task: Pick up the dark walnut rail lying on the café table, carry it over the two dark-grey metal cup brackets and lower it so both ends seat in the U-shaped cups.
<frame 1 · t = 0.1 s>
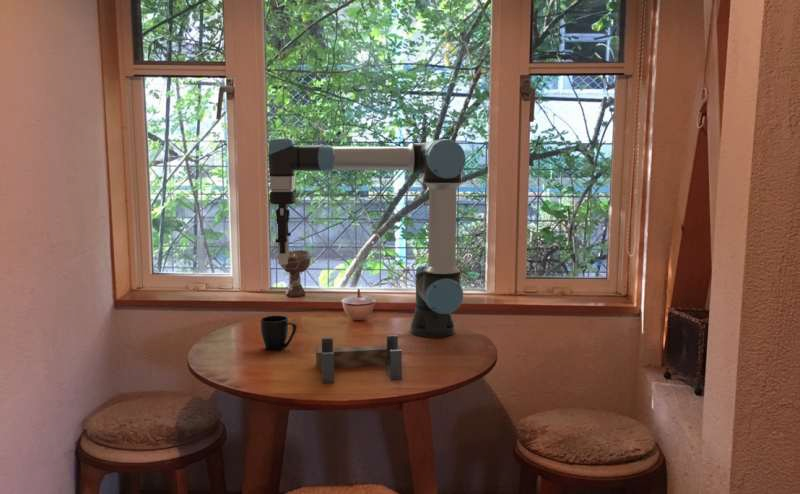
hand: (283, 260, 191), 28 cm above the table, fingers open, 13 cm apart
mug: (279, 349, 195), on the table
rail: (358, 365, 181), on the table
bracket 1: (328, 377, 169), on the table
bracket 2: (393, 374, 172), on the table
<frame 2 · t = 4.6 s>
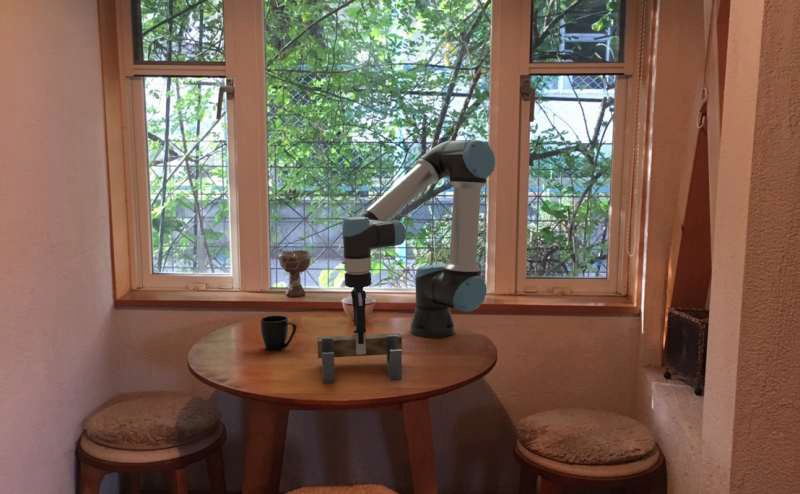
hand: (360, 351, 180), 4 cm above the table, fingers closed on rail, 4 cm apart
rail: (359, 353, 180), point 3 cm above the table, touching gripper
everything else where it was.
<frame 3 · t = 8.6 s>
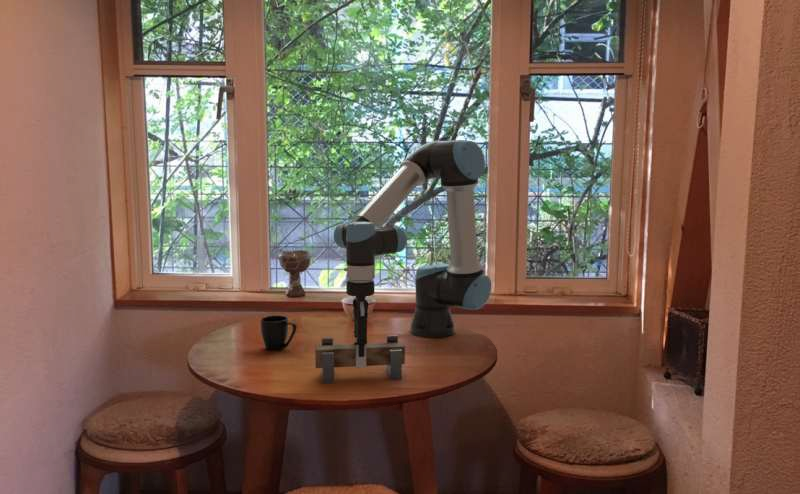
hand: (360, 364, 170), 3 cm above the table, fingers closed on rail, 4 cm apart
rail: (360, 363, 170), point 4 cm above the table, touching bracket 2, bracket 1, gripper
everything else where it was.
when the fingers open (3 cm above the table, at t = 9.0 s): rail stays where it is, resting on bracket 2, bracket 1.
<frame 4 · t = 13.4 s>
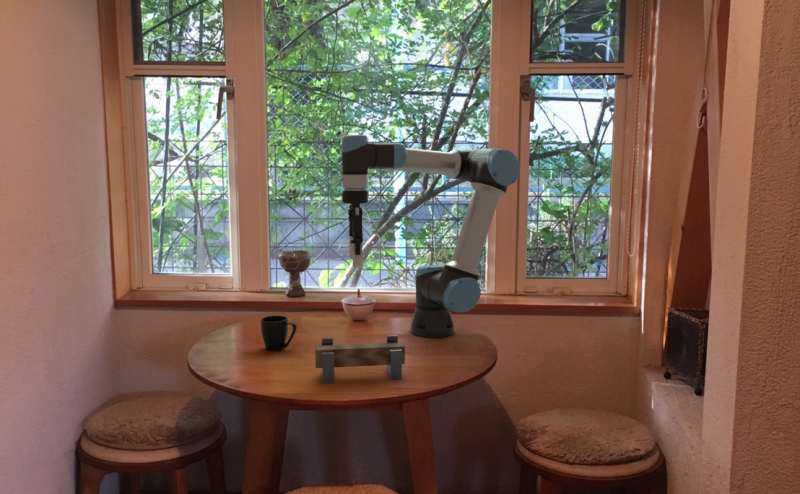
hand: (355, 262, 183), 29 cm above the table, fingers open, 13 cm apart
rail: (360, 363, 170), point 3 cm above the table, touching bracket 2, bracket 1
everything else where it was.
at the end: rail 0.3 cm from the target spot, point 3.5 cm above the table; the gripper is holding nothing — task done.
